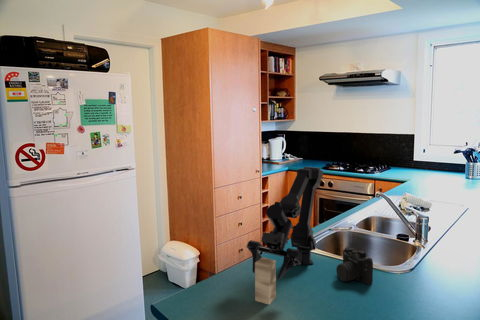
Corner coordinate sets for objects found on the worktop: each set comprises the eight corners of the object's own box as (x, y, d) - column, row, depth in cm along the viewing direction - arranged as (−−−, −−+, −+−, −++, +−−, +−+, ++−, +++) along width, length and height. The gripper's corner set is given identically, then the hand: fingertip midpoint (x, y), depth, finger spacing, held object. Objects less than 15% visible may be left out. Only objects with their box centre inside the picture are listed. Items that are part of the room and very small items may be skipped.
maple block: (262, 293, 122) (262, 257, 121) (275, 297, 120) (275, 260, 118) (255, 300, 118) (255, 262, 116) (269, 304, 116) (268, 266, 114)
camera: (327, 272, 138) (327, 247, 136) (350, 267, 142) (351, 243, 140) (351, 289, 125) (351, 261, 123) (375, 283, 129) (376, 256, 127)
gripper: (248, 217, 125) (232, 259, 117) (299, 226, 116) (285, 272, 108) (259, 233, 133) (244, 273, 125) (308, 242, 123) (295, 286, 115)
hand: (265, 275), depth 118 cm, fingers open, 9 cm apart
